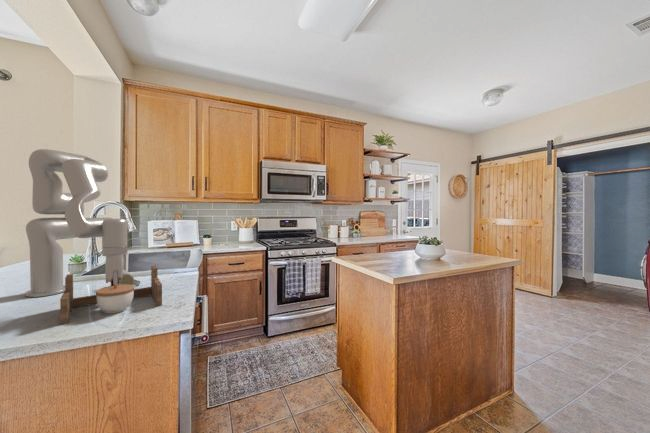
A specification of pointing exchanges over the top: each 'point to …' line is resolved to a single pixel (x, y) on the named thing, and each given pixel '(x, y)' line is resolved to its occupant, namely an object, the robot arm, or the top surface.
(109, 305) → the lidded jar
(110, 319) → the top surface
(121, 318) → the top surface
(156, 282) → the wooden rack
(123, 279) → the white mug
